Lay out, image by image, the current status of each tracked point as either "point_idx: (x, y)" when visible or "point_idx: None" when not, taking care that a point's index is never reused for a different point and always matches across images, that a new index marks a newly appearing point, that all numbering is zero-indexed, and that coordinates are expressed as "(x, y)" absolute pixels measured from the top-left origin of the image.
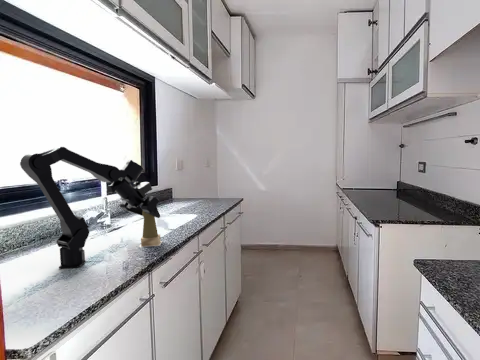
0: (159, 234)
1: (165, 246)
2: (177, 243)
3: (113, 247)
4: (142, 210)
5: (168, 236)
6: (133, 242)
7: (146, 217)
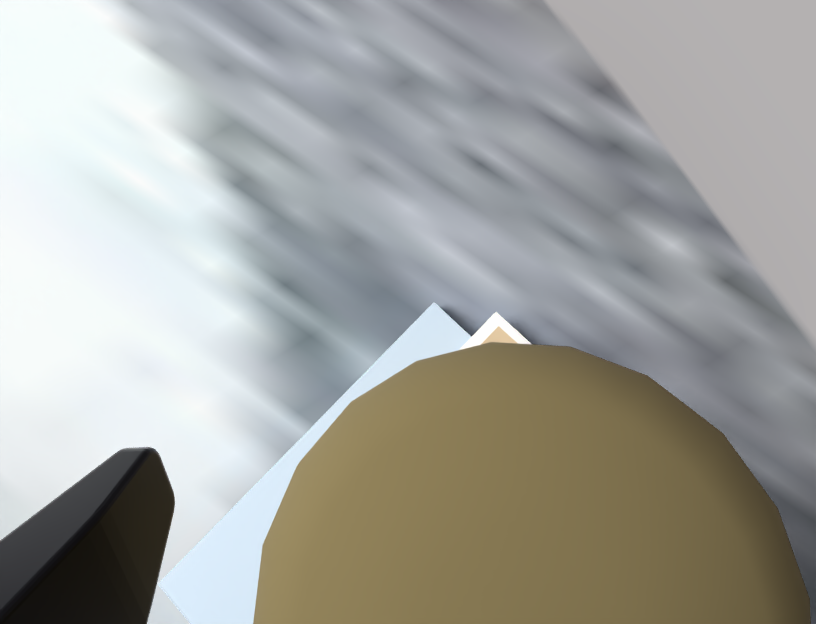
0: (501, 341)
1: (732, 434)
2: (716, 229)
3: None
4: (47, 605)
5: (253, 59)
6: None
7: None
